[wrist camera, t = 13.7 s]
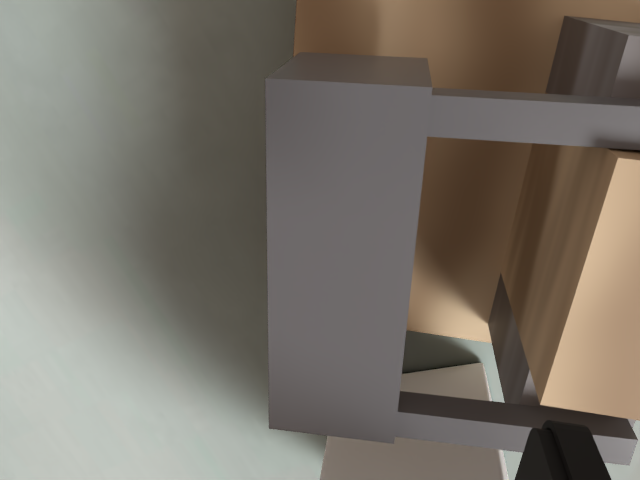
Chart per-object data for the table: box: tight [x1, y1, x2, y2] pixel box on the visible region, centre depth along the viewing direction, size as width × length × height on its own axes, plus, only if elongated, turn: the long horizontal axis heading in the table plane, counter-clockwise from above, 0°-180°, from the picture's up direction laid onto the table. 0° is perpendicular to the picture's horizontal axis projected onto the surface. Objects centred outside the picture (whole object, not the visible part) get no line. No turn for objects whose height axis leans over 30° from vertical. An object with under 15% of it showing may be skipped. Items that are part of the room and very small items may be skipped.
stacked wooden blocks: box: [293, 0, 640, 428], centre depth 19 cm, size 13×14×10 cm
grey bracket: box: [265, 52, 640, 465], centre depth 18 cm, size 11×11×5 cm
